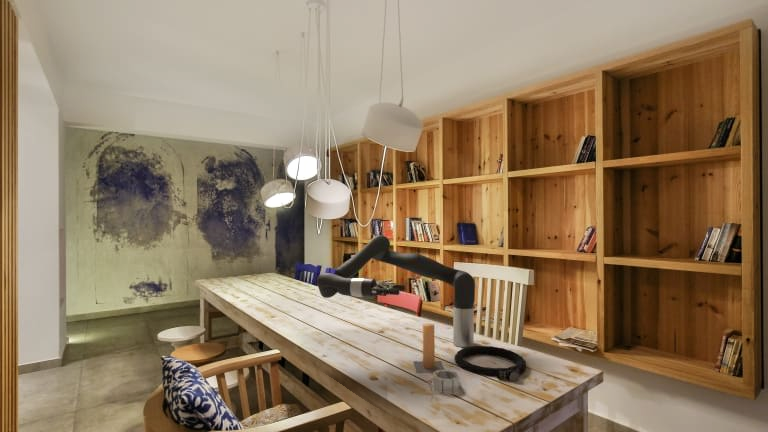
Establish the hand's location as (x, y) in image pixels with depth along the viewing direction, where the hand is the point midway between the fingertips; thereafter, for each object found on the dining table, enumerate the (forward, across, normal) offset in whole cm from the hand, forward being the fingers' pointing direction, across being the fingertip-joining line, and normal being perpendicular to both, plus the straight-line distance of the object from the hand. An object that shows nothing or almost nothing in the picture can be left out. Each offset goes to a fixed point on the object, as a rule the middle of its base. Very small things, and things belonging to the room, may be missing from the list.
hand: (402, 289), depth 147 cm
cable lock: (+33, +11, +31) cm, 47 cm away
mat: (+11, 0, +30) cm, 32 cm away
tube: (+11, 0, +29) cm, 31 cm away
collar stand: (+19, -15, +30) cm, 39 cm away
